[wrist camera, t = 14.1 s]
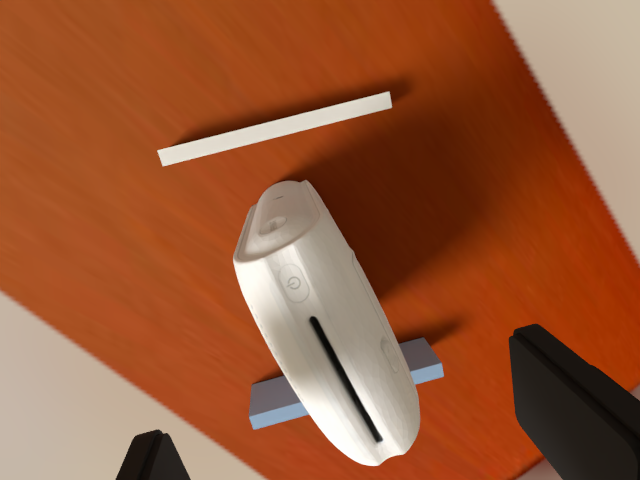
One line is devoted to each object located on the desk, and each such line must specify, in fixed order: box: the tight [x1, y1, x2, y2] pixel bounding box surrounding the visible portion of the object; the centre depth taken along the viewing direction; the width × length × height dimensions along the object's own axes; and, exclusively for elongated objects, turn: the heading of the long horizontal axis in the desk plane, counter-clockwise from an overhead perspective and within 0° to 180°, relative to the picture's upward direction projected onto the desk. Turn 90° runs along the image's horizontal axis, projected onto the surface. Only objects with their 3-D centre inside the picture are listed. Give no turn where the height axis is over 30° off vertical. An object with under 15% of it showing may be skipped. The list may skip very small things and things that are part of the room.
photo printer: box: [233, 180, 420, 466], centre depth 18 cm, size 10×4×12 cm, turn 25°
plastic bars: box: [157, 92, 444, 430], centre depth 23 cm, size 17×12×3 cm
